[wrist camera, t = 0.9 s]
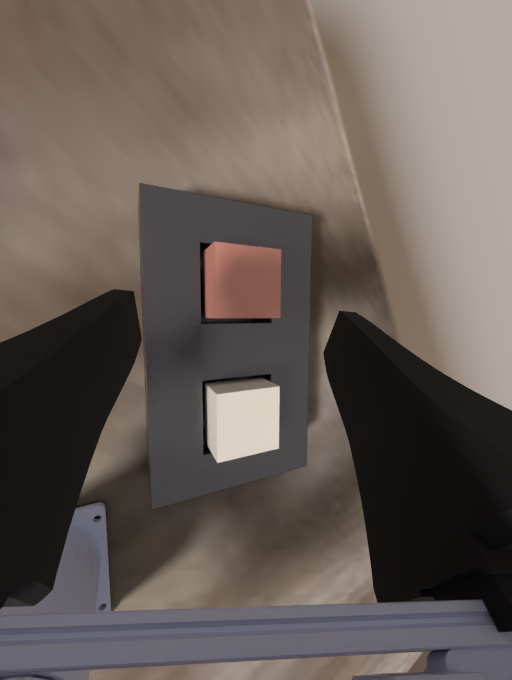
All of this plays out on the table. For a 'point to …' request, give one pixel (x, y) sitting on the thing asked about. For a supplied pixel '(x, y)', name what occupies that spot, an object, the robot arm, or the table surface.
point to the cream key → (241, 417)
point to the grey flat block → (217, 338)
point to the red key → (241, 281)
